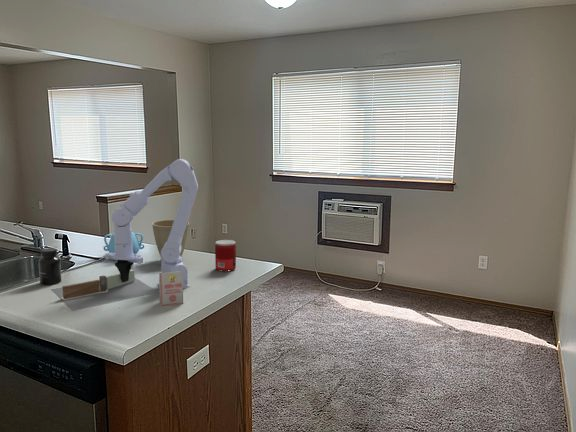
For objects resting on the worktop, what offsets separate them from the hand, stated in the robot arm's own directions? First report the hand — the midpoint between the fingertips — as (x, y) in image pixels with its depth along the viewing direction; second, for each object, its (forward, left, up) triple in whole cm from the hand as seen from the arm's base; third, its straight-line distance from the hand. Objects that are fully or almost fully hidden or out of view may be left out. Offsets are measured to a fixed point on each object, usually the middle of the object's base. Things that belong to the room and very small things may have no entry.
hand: (125, 281), depth 158 cm
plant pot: (+21, -28, -2) cm, 36 cm away
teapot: (+39, -15, -2) cm, 42 cm away
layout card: (-1, +7, -2) cm, 7 cm away
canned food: (-3, -39, -2) cm, 39 cm away
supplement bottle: (+19, +19, -2) cm, 27 cm away
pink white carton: (-24, -5, -2) cm, 24 cm away
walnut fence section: (-1, +13, -2) cm, 13 cm away
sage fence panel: (+1, +1, -1) cm, 2 cm away
